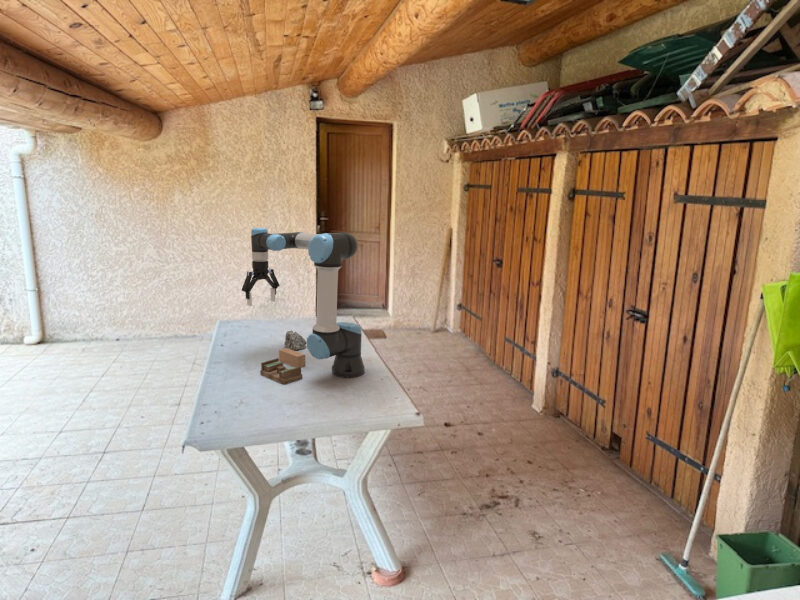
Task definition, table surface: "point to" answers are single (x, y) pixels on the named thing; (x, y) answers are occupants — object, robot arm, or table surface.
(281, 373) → the stand
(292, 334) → the rock
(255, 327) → the table surface
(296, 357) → the tan rectangular block
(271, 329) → the table surface
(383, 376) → the table surface
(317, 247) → the robot arm
